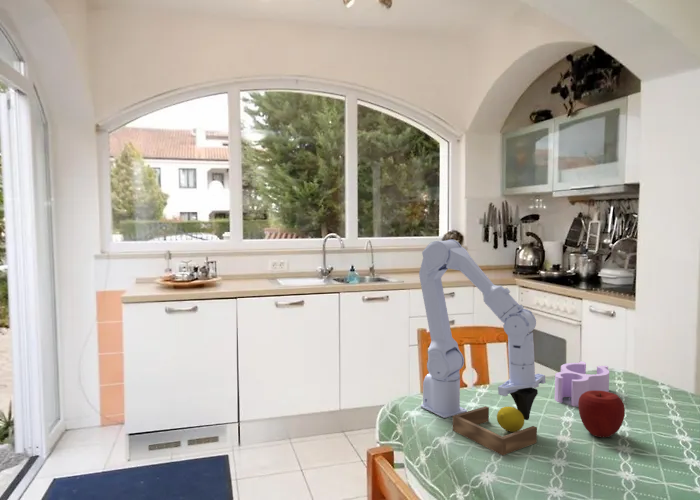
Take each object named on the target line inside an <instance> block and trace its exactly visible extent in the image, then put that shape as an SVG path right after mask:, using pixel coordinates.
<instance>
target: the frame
mask: <svg viewBox="0 0 700 500" xmlns="http://www.w3.org/2000/svg"><path fill="white" fill-rule="evenodd" d="M489 415H490V407H488V406H486V405H485V406H481V407H478V408H475V409H471V410H467V412H464V413H461V414H457V415H454V416H452V431H453V432H455V433H457V434H460V435H461V436H463V437H465V438H467V439H469V440H470V441H473V442H475V443H477V444H480V446H482V447H485V448H487V449H489V450H491V451H493V452H495V453H497V454H500V456H505V455H508V454H511V453H513V452H515V451H519V450H521V449H524V448H527V447H529V446H531V445H534V444H537V441H538V440H537V439H538V427H537V426H534V425H532V426H529V427H526V428H522V429H520V430H519V431H517V432H510V433H509V434H506V435H500V434H499V433H495V432H494V431H492V430H489V429H487V428H484V427H483V426H481V425H482V424H485V423H488V422H490V417H489Z"/></svg>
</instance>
